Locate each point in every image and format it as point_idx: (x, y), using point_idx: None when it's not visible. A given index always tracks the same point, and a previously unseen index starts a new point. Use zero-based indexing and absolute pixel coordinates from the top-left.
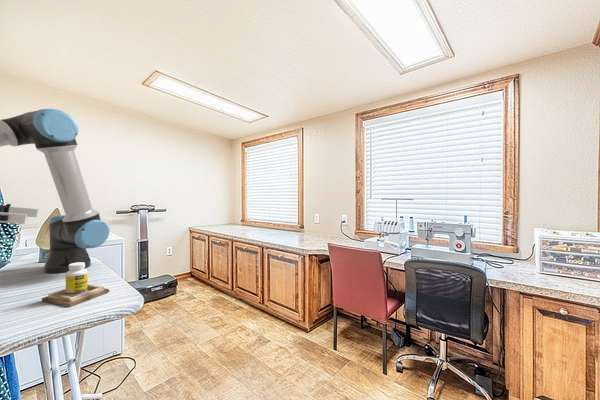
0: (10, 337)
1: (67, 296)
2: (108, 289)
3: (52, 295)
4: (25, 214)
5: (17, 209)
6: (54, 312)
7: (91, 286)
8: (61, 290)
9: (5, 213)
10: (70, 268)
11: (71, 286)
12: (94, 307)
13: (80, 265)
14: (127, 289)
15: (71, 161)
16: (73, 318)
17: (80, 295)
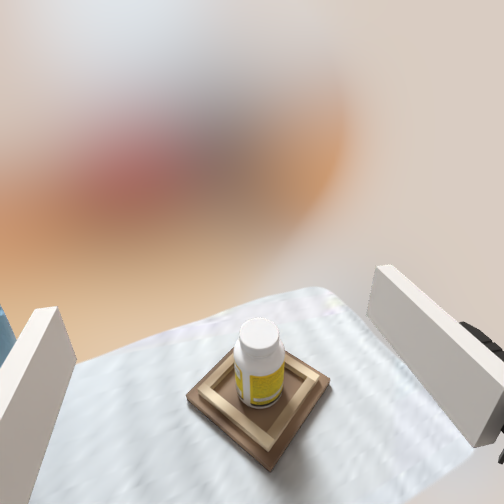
0: None
1: (301, 388)
2: None
3: (280, 431)
4: (387, 267)
5: (10, 436)
6: (356, 405)
7: None
8: (244, 422)
9: (460, 327)
10: (275, 348)
11: (283, 374)
12: (338, 338)
13: (273, 323)
14: (245, 307)
15: None
16: (389, 357)
17: (300, 363)
